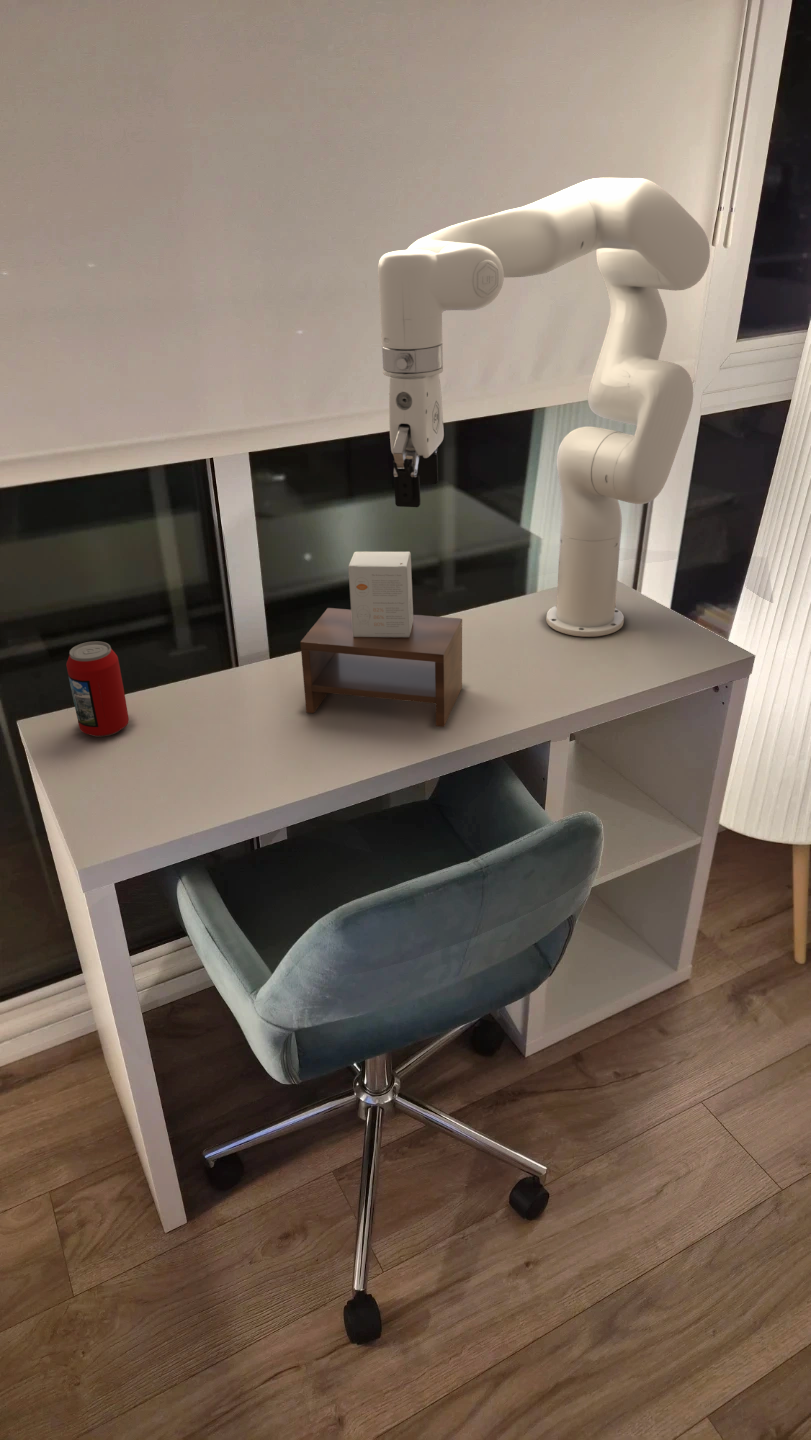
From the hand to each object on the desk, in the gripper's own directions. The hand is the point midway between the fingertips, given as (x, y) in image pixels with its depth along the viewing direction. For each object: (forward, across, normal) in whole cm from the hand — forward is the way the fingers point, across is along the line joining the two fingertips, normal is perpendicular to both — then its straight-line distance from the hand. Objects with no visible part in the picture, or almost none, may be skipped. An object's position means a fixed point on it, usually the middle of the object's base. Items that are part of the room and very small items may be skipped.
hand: (417, 494), depth 137 cm
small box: (+18, -4, +4) cm, 19 cm away
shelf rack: (+29, -4, +5) cm, 30 cm away
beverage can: (+29, -20, +41) cm, 54 cm away
